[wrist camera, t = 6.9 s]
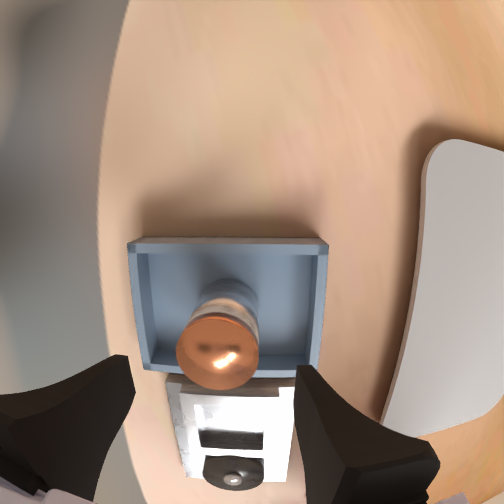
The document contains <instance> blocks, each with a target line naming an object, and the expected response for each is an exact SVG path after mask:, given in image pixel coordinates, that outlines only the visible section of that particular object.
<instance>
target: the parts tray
mask: <svg viewBox="0 0 504 504" xmlns="http://www.w3.org/2000/svg"><path fill="white" fill-rule="evenodd" d="M127 249H128V261H129V272H130V282H131V291H132V300H133V307H134V315H135V322H136V328H137V335H138V341H139V347H140V352H141V358H142V363H143V368H144V370H151V371H160V372H170V373H180V374H184V373H183V371H182V370H181V368H180V366H179V364H178V362H177V358H176V346H177V342H178V340H179V338H180V336H181V334H182V332H183V330H184V328H185V326H186V324H187V322H188V320H189V318H190V316H191V314H192V313H193V311H194V309H195V307H196V305H197V303H198V301H199V299H200V297H201V295H202V293H203V292H204V290H205V289H206V288H207V287H208V286H209V285H210V284H211V283H213V282H215V281H217V280H221V279H235V280H239V281H241V282H243V283H245V284H247V285H248V286H249V287H250V288H251V289H252V290H253V291H254V293H255V294H256V296H257V299H258V303H259V360H258V366H257V369H256V371H255V373H254V375H253V376H252V377H296V368H297V365H312V366H313V367H314V368H315V369H316V370H317V369H318V361H319V353H320V344H321V335H322V326H323V316H324V305H325V293H326V281H327V266H328V249H329V245H328V244H327V243H326V242H325V241H323V240H322V239H321V238H291V237H141V238H138V239H136V240H134V241H132V242H129V243H127Z"/></svg>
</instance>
